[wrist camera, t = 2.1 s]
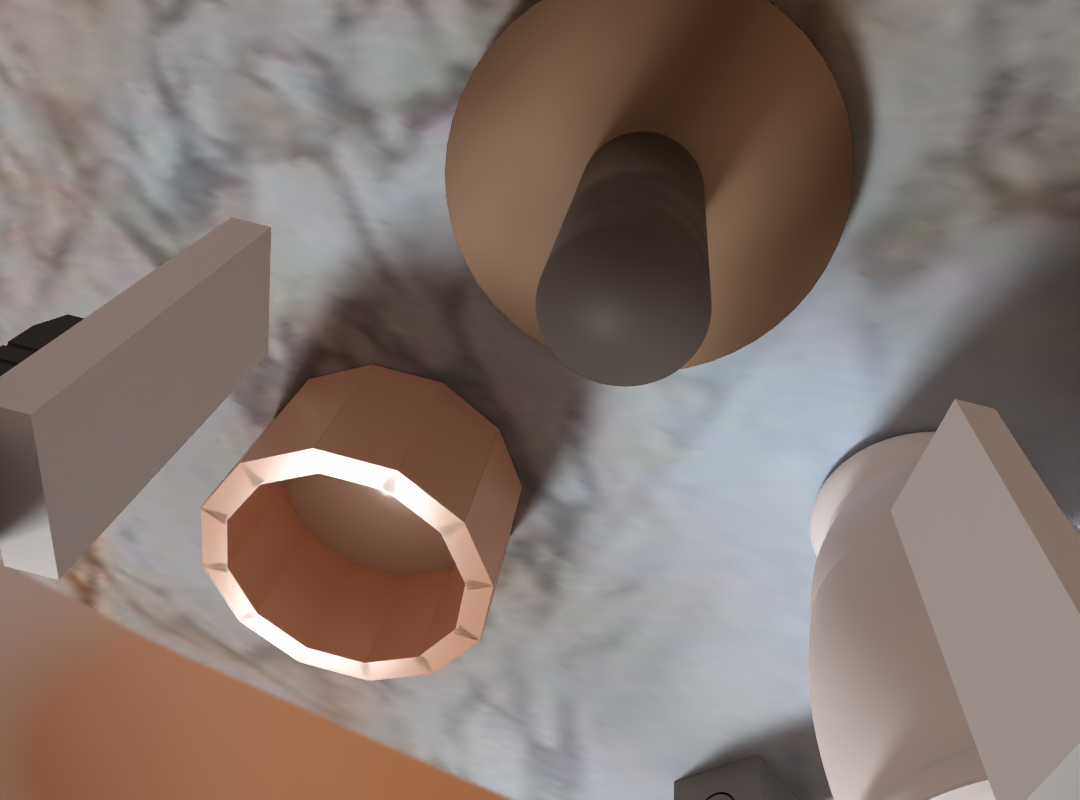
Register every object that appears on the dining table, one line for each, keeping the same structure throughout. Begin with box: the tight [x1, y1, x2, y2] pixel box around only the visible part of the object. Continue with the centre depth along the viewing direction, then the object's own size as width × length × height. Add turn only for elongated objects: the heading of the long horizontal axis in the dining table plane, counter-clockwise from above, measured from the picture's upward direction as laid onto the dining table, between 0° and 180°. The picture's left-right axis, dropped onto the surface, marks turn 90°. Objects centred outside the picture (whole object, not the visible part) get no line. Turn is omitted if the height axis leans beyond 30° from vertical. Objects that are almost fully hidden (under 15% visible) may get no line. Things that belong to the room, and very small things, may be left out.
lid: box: [445, 0, 854, 386], centre depth 23 cm, size 13×13×10 cm
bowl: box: [201, 364, 522, 681], centre depth 32 cm, size 11×11×6 cm
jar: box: [808, 432, 1080, 800], centre depth 25 cm, size 11×10×15 cm
